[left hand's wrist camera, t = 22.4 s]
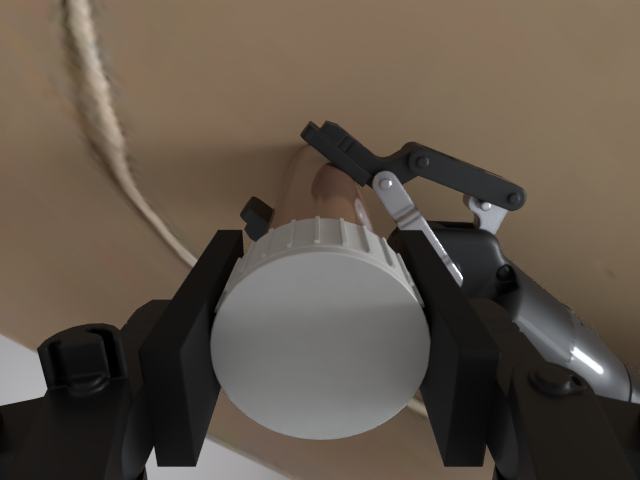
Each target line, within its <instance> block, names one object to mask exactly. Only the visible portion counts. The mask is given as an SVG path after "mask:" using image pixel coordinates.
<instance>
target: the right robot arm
mask: <svg viewBox="0 0 640 480" xmlns="http://www.w3.org/2000/svg"><path fill="white" fill-rule="evenodd" d="M300 136H301V137H302V138H303V139H304V140H305V141H306V142H307V143H308V144H309V145H311V146H312V147H313V148H314V149H316V150H317V151H318V152H319V153H321V154H322V155H323V156H324V157H326V158H327V159H328V160H329V161H331V162H332V163H333V164H334V165H336V166H337V167H338V168H339V169H341V170H342V171H343V172H345V173H346V174H347V175H349V176H350V177H351V178H352V179H353V180H354V181H356V182H357V183H358V184H359V185H361V186H362V187H363V186H364V185H365V184H367V185H368V186H370V187H371V188H372V189H373V190H374V191H375V193H376V194H377V196H378V197H379V199H380V200H381V202H382V203H383V205H384V206H385V208H386V209H387V210H388V212H389V213H390V215H391V216H392V218H393V219H394V221H395V223H396V224H397V226H398V227H397V228H396V229H395V230H394V231H393V232H392V233H391V234H390V236H389V238H388V240H387V244H388V246H389V247H390V248H391V249H392V250H393V251H394V252H395V254H397V239H398V230H422V231H423V232H424V234H425V235H426V237H427V238H428V240H429V241H430V243H431V244H432V246H433V247H434V249H435V250H436V252H437V253H438V255H439V256H440V258H441V259H442V261H443V262H444V264H445V265H446V267H447V268H448V270H449V271H450V273H451V274H452V276H453V277H454V279H455V280H456V282H457V283H458V285H459V286H460V288H461V289H462V291H463V292H464V294H465V295H466V297H467V298H488V299H490V300H492V301H493V302H495V303H496V304H498V305H500V306H501V307H503V308H504V309H505V310H506V311H507V313H508V314H509V315H510V316H511V318H512V319H513V322H515V323H516V324H517V325H518V326H519V328H520V329H521V332H523V333H524V334H525V335H526V336H527V338H528V339H529V340H530V341H531V343H532V344H533V345H534V346H535V348H536V349H537V350H538V351H539V353H540V354H541V355H542V356H543V358H544V359H545V360H546V361H547V362H551V363H556V364H559V365H562V366H564V367H566V368H568V369H571V370H573V371H574V372H576V373H577V374H579V375H580V376H581V377H583V378H584V379H585V380H586V381H587V382H588V383H589V385H590V386H591V387H592V388H593V390H594V392H595V394H596V395H600V396H604V397H608V398H613V399H618V400H623V401H628V402H633V403H638V404H640V374H639V373H638V372H636V371H635V370H634V369H633V368H632V367H630V366H629V365H628V364H627V363H626V362H624V361H623V360H622V359H621V358H619V357H618V356H617V355H616V354H615V353H614V352H612V351H611V349H610V348H609V347H608V346H607V345H606V344H605V342H604V341H603V340H602V339H601V338H600V337H599V336H598V335H597V334H596V333H595V332H594V331H593V330H592V329H591V328H590V327H589V326H588V325H587V324H585V323H584V322H583V321H582V320H581V319H579V318H578V317H577V316H576V314H575V313H574V312H573V311H572V310H571V309H570V308H569V307H567V306H566V305H564V304H562V303H560V302H559V301H558V300H557V299H555V298H554V297H553V296H552V295H551V294H549V293H548V292H547V291H546V290H545V289H543V288H542V287H541V286H540V285H539V284H537V283H536V282H535V281H534V280H533V279H531V278H530V277H529V276H528V275H527V274H525V273H524V272H523V271H522V270H520V269H519V268H518V267H517V266H516V265H514V264H513V263H512V262H511V261H510V260H508V259H507V258H506V257H505V256H504V255H503V253H502V251H501V248H500V244H499V241H498V239H497V238H496V237H495V233H496V232H497V230H498V228H499V226H500V224H501V222H502V221H503V219H504V217H505V215H506V213H507V212H508V210H509V211H514V210H517V209H519V208H521V207H522V206H523V205H524V203H525V201H526V192H525V190H524V189H523V188H521V187H519V186H518V185H516V184H514V183H512V182H510V181H508V180H507V179H505V178H503V177H501V176H499V175H496V174H494V173H491V172H489V171H486V170H484V169H481V168H479V167H476V166H474V165H471V164H469V163H466V162H464V161H461V160H459V159H456V158H454V157H451V156H449V155H446V154H444V153H441V152H439V151H436V150H434V149H431V148H429V147H426V146H424V145H421V144H419V143H416V142H409V143H406V144H405V145H404V146H403V147H402V148H401V150H399V151H397V152H396V153H394V154H392V155H390V156H388V157H378V156H376V155H374V154H373V153H371V152H370V151H369V150H368V149H367V148H365V147H364V146H363V145H362V144H361V143H359V142H358V141H357V140H356V139H355V138H353V137H352V136H351V135H350V134H349V133H347V132H346V131H345V130H344V129H343V128H341V127H340V126H339V125H338V124H336V123H333V122H329V121H326V122H325V123H324V124H323V125H322V127H321V128H319V127H318V126H317V125H315V124H314V123H313V122H311V121H310V122H309V123H308V125H307V126H306V127H305V128H304V130H303V131H302V132H301V135H300ZM417 176H421V177H424V178H426V179H429V180H431V181H434V182H436V183H439V184H442V185H444V186H447V187H449V188H452V189H454V190H457V191H460V192H462V193H464V195H463V202H464V204H465V206H466V207H468V208H469V209H470V210H471V211H472V212H473V213H474V222H473V223H469V222H445V221H425V219H424V218H423V216H422V215H421V213H420V212H419V210H418V209H417V207H416V206H415V204H414V203H413V201H412V200H411V198H410V197H409V195H408V194H407V192H406V191H405V189H404V188H403V186H402V185H403V184H404V183H406V182H408V181H410V180H411V179H413V178H415V177H417ZM272 212H273V209H272V208H271V207H269V206H268V205H267V204H265V203H264V202H263V201H261V200H260V199H258V198H256V197H252V198H251V199H250V200H249V201H248V203H247V204H246V205H245V207H244V208H243V210H242V212H241V213H240V216H241V218H242V219H243V220H244V221H245V222H246V223H247V225H246V227H245V229H244V230H245V231H246V233H247V234H248V236H249V237H250V238H251V239H252V240H253V241H255V242H257V241H258V240H259V239H260V238H261V237H263V236H264V234H265V232H266V229H267V226H268V223H269V220H270V218H271V215H272Z"/></svg>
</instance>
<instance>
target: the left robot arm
mask: <svg viewBox="0 0 640 480" xmlns="http://www.w3.org/2000/svg"><path fill="white" fill-rule="evenodd" d="M397 253H399V254H400V256H401V258H402V260H403V262H404V264H405V267H406V269H407V271H408V272H410V274H411V277H412V279H413V281H414V283H415V285H416V287H417V290H418V292H419V294H420V296H421V298H422V300H423V303H424V305H425V307H423V308H422V309H423V311H424V314H425V316H426V319H427V323H428V326H429V331H430V338H431V341H430V352H429V362H428V368H427V371H426V374H425V377H424V379H423V381H422V383H421V385H420V387H419V388H420V391H421V394H422V398H423V401H424V404H425V407H426V410H427V413H428V416H429V419H430V423H431V426H432V429H433V432H434V435H435V438H436V441H437V444H438V448H439V451H440V454H441V457H442V460H443V463H444V466H445V467H483V461H484V456H485V450H486V444H487V446H488V448H489V450H490V453H491V455H492V457H493V459H494V461H495V467H494V473H493V478H492V480H640V404H638V403H633V402H628V401H623V400H618V399H613V398H608V397H604V396H600V395H596V394H595V392H594V390H593V388H592V387H591V386H590V385H589V383H588V382H587V381H586V380H585V379H584V378H583V377H581V376H580V375H579V374H577V373H576V372H574V371H573V370H571V369H568V368H566V367H564V366H562V365H559V364H556V363H551V362H547V361H546V360H545V359H544V358H543V356H542V355H541V354H540V353H539V351H538V350H537V349H536V348H535V346H534V345H533V344H532V343H531V341H530V340H529V339H528V338H527V336H526V335H525V334H524V333H523V332H521V329H520V328H519V326H518V325H517V324H516V323H515V322H513V319H512V318H511V316H510V315H509V314H508V313H507V311H506V310H505V309H504V308H503V307H501V306H500V305H498V304H496V303H495V302H493V301H492V300H490V299H488V298H467V297H466V295H465V294H464V292H463V291H462V289H461V288H460V286H459V285H458V283H457V282H456V280H455V279H454V277H453V276H452V274H451V273H450V271H449V270H448V268H447V267H446V265H445V264H444V262H443V261H442V259H441V258H440V256H439V255H438V253H437V252H436V250H435V249H434V247H433V246H432V244H431V243H430V241H429V240H428V238H427V237H426V235H425V234H424V232H423V231H422V230H398V239H397ZM243 256H244V250H243V235H242V230H218V231H217V233H216V234H215V236H214V237H213V239H212V240H211V242H210V243H209V245H208V246H207V248H206V249H205V251H204V252H203V254H202V255H201V257H200V258H199V260H198V261H197V263H196V264H195V266H194V267H193V269H192V270H191V272H190V273H189V275H188V276H187V278H186V279H185V281H184V282H183V284H182V285H181V287H180V288H179V290H178V291H177V293H176V294H175V296H174V297H173V299H172V300H151V301H150V302H148V303H146V304H145V305H143V306H142V307H140V308H138V309H137V310H136V311H135V312H134V313H133V315H132V316H131V317H130V319H129V320H128V321H127V324H125V325H124V326H123V327H122V329H121V330H119V329H117V328H116V327H115V326H113V325H108V324H104V323H99V324H85V325H80V326H76V327H72V328H69V329H66V330H64V331H61V332H58V333H57V334H55V335H53V336H52V337H50V338H48V339H47V340H45V341H44V342H43V343H42V344H41V345H40V346H39V347H38V348H37V351H38V354H39V358H40V362H41V366H42V369H43V373H44V377H45V381H46V384H47V388H48V389H47V391H46V393H45V395H44V397H40V398H36V399H32V400H27V401H22V402H17V403H13V404H7V405H3V406H0V480H147V473H146V467H145V464H146V462H147V460H148V458H149V455H150V453H151V451H152V449H153V447H154V448H155V454H156V460H157V466H158V467H195V466H196V464H197V461H198V458H199V455H200V451H201V448H202V445H203V442H204V439H205V436H206V433H207V430H208V426H209V423H210V420H211V417H212V414H213V411H214V408H215V405H216V401H217V398H218V395H219V392H220V389H221V385H220V383H219V382H218V380H217V377H216V374H215V372H214V369H213V365H212V359H211V349H210V337H211V330H212V326H213V322H214V318H215V316H216V314H217V313H214V311H215V308H216V306H217V303H218V301H219V299H220V297H221V295H222V292H223V290H224V288H225V286H226V284H227V281H228V279H229V277H230V275H231V273H232V270H233V268H234V266H235V264H236V262H237V260H238V258H241V259H242V257H243Z"/></svg>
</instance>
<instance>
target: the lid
mask: <svg viewBox="0 0 640 480" xmlns="http://www.w3.org/2000/svg"><path fill="white" fill-rule="evenodd" d="M423 307H425V305H424V303H423V300H422V298H421V296H420V294H419V292H418V290H417V287H416V285H415V283H414V281H413V279H412V277H411V274H410V272H408V271H407V269H406V267H405V264H404V262H403V260H402V258H401V256H400V254H399V253H397V254H395V252H394V251H393V250H392V249H391V248H390V247H389V246H388V244H387V242H386V239H385V238H384V237H382V238H379V237H378V236H377V235H375V234H374V233H372V232H370V231H369V230H367V228H366V226H364V225H362V227H360V226H358V225H356V224H353V223H350V222H346V221H344V219H343V218H339V220H337V219H330V218H319V216H315V218H313V219H304V220H299V221H296V220H295V219H293V220H291V223H288V224H285V225H282V226H280V227H278V228H276V229H273V228H271V229H269V232H268V233H267V234H266V235H264V236H263V237H261V238H260V239H259V240H258V241H257V242H255V241H253V242H251V244H250V247H249V249H248V251H247V252H246V253H245V254H244V256H243V257H242V259H241V258H238V260H237V262H236V264H235V266H234V268H233V270H232V273H231V275H230V277H229V279H228V281H227V284H226V286H225V288H224V290H223V292H222V295H221V297H220V299H219V301H218V303H217V306H216V308H215V311H214V313H217V314H216V316H215V318H214V322H213V326H212V330H211V337H210V349H211V359H212V365H213V369H214V372H215V374H216V377H217V380H218V382H219V383H220V385H221V387H222V389H223V391H224V392H225V393H226V395H227V396H228V398H229V399H230V400H231V401H232V402H233V403H234V405H235V406H236V407H237V408H238V409H239V410H241V411H242V412H243V413H244V414H245V415H247V416H248V417H249V418H251V419H252V420H254V421H255V422H257V423H258V424H260V425H262V426H264V427H266V428H268V429H270V430H273V431H276V432H278V433H281V434H284V435H288V436H292V437H297V438H304V439H317V440H325V439H337V438H343V437H349V436H353V435H356V434H360V433H363V432H365V431H368V430H370V429H373V428H375V427H377V426H378V425H380V424H382V423H384V422H386V421H387V420H389V419H390V418H391V417H393V416H394V415H396V414H397V413H398V412H399V411H400V410H401V409H402V408H404V407H405V405H406V404H407V403H408V402H409V401H410V400H411V399H412V398H413V396H414V395H415V393H416V392H417V390H418V389H419V387H420V385H421V383H422V381H423V379H424V377H425V374H426V371H427V368H428V362H429V352H430V341H431V338H430V331H429V326H428V323H427V319H426V316H425V314H424V311H423V309H422V308H423Z"/></svg>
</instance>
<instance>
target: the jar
mask: <svg viewBox="0 0 640 480" xmlns="http://www.w3.org/2000/svg"><path fill="white" fill-rule="evenodd" d="M315 216H319V218H330V219H337V220H339V218H343V219H344V221H346V222H350V223H353V224H356V225H358V226H360V227H362V225H364V226H366V228H367V230H369V231H370V232H372V233H374V234H375V235H376V233H375V230H374V227H373V224H372V221H371V219H370V216H369V213H368V210H367V207H366V205H365V202H364V199H363V196H362V194H361V191H360V188H359V185H358V183H357V182H356V181H354V180H353V179H352V178H351V177H350V176H349V175H347V174H346V173H345V172H343V171H342V170H341V169H339V168H338V167H337V166H336V165H334V164H333V163H332V162H331V161H329V160H328V159H327V158H326V157H324V156H323V155H322V154H321V153H319V152H318V151H317V150H316V149H314V148H313V147H312V146H311V145H308V146H306V147H304V148H302V149H301V150H300V151H298V152H297V153H296V154H295V156H294V157H293V158H292V160H291V162H290V164H289V167H288V170H287V173H286V175H285V178H284V181H283V184H282V187H281V189H280V192H279V195H278V198H277V201H276V203H275V206H274V209H273V212H272V215H271V218H270V220H269V223H268V226H267V229H266V232H265V234H264V235H266V234H267V233H268V232H269V229H271V228H273V229H276V228H278V227H280V226H282V225H285V224H288V223H291V220H293V219H295V220H296V221H299V220H304V219H313V218H315Z"/></svg>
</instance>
